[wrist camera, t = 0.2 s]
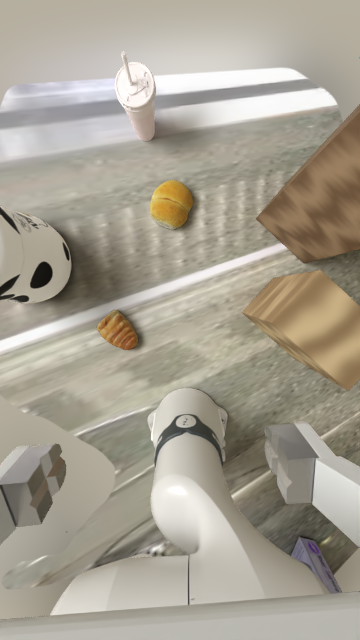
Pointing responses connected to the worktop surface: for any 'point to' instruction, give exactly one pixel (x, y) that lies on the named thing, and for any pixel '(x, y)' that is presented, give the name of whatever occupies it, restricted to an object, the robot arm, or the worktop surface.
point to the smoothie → (137, 96)
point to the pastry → (118, 331)
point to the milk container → (31, 259)
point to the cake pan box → (315, 562)
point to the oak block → (312, 324)
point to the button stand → (321, 199)
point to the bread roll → (171, 204)
